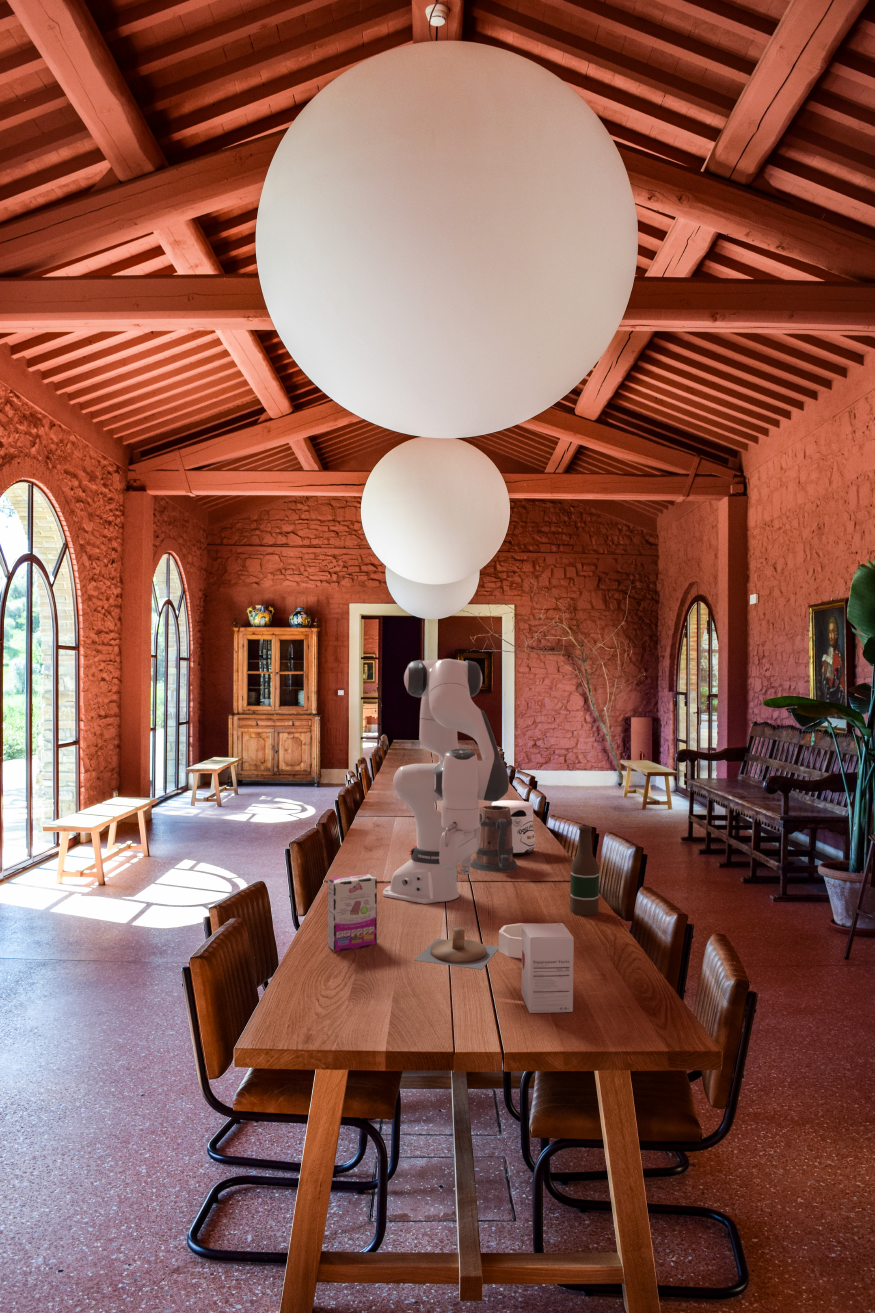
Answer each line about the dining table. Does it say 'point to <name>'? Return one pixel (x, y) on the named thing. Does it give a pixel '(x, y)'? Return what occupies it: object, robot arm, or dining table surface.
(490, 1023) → the dining table surface
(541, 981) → the supplement box
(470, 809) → the robot arm
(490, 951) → the mat
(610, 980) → the dining table surface
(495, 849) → the tankard
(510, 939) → the bowl
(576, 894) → the beer bottle
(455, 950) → the lid
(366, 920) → the candy bar box
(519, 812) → the milk container
